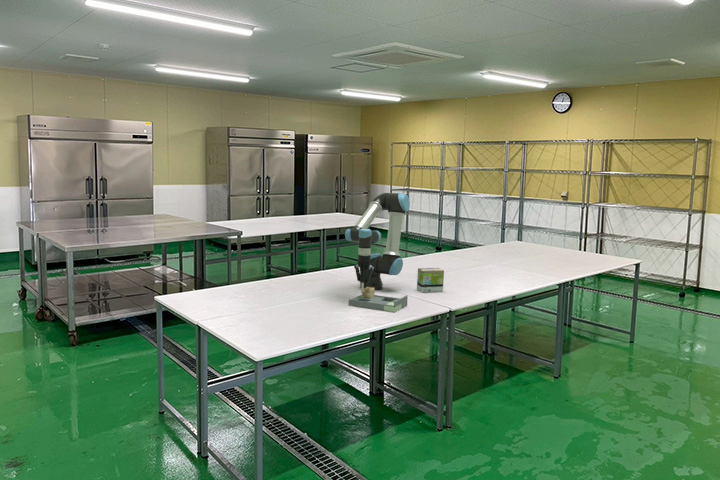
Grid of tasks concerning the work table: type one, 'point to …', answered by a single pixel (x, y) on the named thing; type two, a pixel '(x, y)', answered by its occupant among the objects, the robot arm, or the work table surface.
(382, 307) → the board
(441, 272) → the tea box
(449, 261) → the work table surface
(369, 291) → the block
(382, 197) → the robot arm
